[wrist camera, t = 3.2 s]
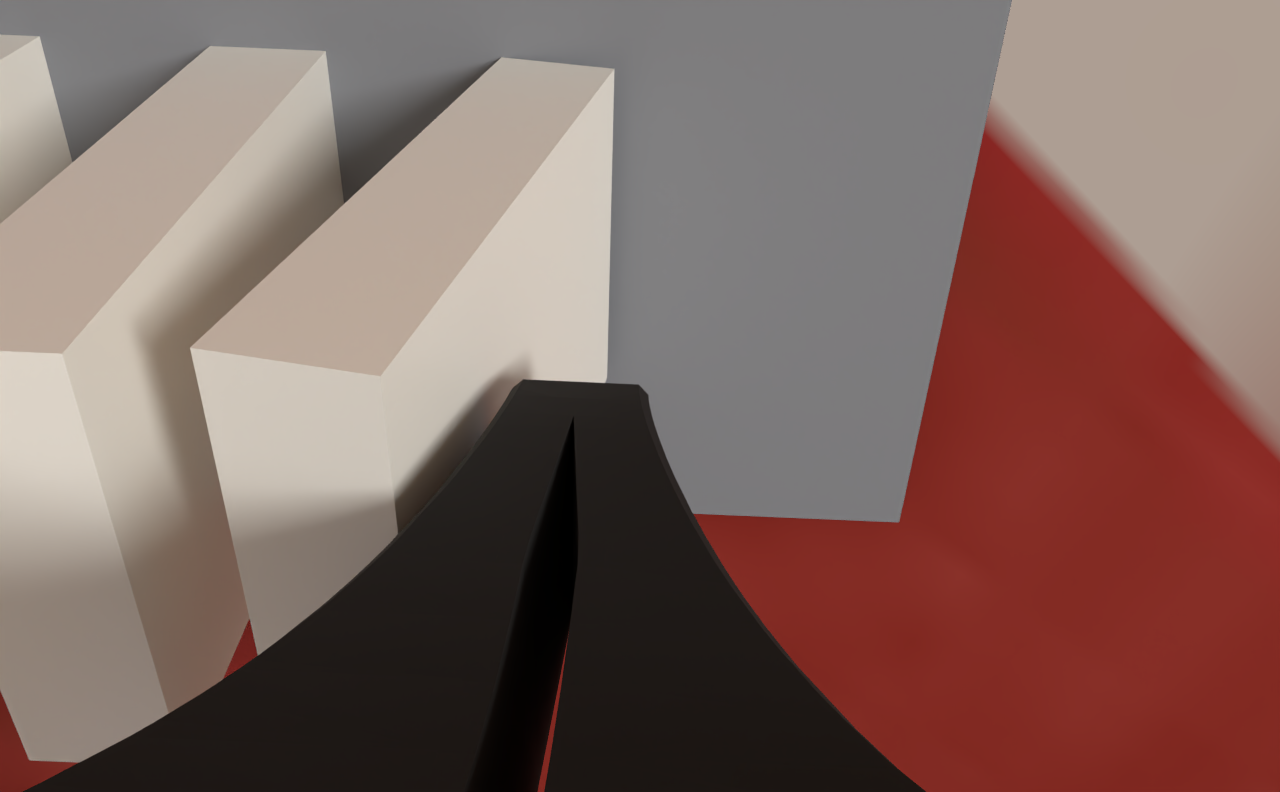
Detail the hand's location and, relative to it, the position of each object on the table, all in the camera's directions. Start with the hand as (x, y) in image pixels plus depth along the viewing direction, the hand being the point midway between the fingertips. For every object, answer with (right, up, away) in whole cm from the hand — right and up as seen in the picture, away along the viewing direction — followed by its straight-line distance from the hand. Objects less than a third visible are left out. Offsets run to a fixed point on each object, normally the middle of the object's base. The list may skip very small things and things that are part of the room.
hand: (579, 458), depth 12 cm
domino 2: (-1, +3, +5) cm, 6 cm away
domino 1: (-5, +3, +5) cm, 7 cm away
